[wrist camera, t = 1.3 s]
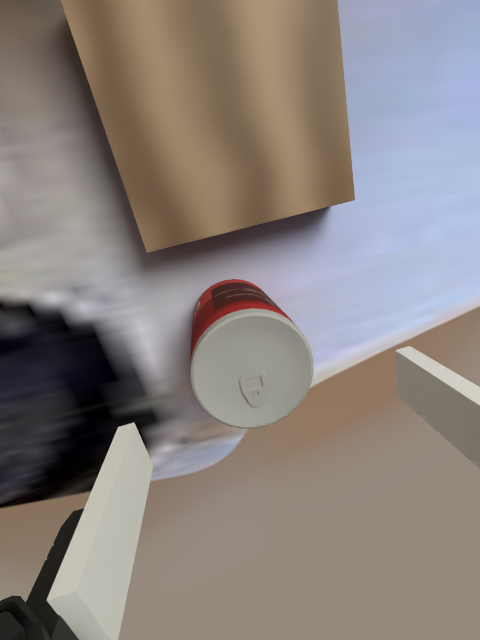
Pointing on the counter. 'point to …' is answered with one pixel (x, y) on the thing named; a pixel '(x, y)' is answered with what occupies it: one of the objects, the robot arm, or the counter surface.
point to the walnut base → (218, 109)
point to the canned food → (247, 357)
